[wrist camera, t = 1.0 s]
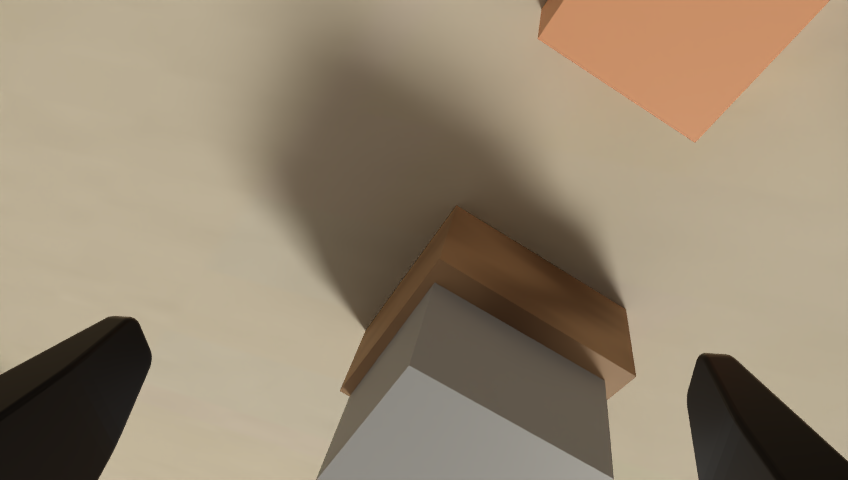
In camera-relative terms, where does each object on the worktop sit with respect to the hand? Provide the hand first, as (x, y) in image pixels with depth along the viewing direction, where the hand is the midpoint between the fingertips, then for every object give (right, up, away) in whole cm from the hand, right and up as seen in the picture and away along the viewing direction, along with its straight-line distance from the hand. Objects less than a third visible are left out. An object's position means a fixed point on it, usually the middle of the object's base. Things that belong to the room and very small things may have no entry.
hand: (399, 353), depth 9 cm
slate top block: (+2, -4, +13) cm, 13 cm away
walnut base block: (+3, -1, +16) cm, 16 cm away
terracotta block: (+7, +9, +8) cm, 14 cm away
